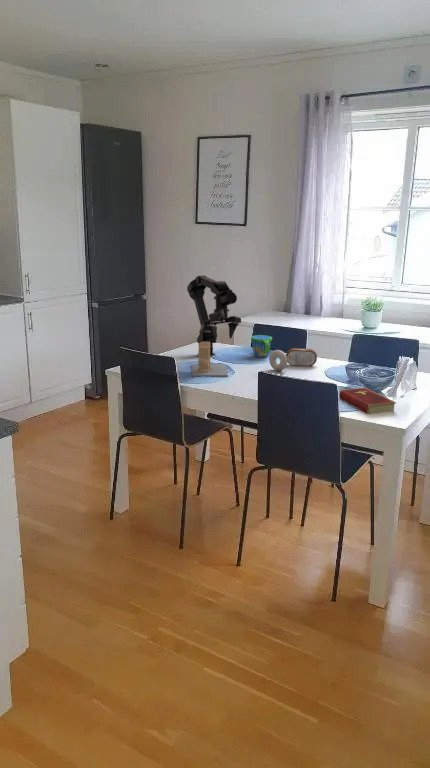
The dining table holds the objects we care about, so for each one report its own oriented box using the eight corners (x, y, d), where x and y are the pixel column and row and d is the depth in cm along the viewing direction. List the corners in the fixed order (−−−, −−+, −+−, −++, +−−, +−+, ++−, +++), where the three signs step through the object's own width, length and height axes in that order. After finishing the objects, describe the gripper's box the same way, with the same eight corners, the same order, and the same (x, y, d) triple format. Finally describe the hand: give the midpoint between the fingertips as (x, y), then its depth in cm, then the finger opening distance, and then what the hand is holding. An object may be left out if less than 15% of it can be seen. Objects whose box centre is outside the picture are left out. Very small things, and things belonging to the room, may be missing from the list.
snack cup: (275, 359, 310) (276, 339, 307) (255, 360, 308) (256, 340, 305) (266, 352, 325) (266, 333, 322) (247, 353, 323) (247, 334, 320)
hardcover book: (367, 415, 228) (368, 404, 227) (338, 399, 248) (339, 389, 246) (395, 412, 232) (396, 401, 231) (364, 396, 251) (365, 386, 250)
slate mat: (192, 365, 296) (192, 364, 296) (225, 365, 296) (225, 364, 296) (192, 376, 277) (192, 375, 276) (227, 376, 277) (227, 375, 277)
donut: (267, 369, 291) (267, 348, 288) (271, 368, 293) (272, 347, 290) (284, 373, 284) (284, 352, 281) (288, 372, 286) (289, 351, 284)
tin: (316, 365, 299) (317, 348, 297) (316, 367, 296) (317, 350, 294) (285, 364, 301) (286, 347, 298) (285, 366, 298) (286, 349, 295)
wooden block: (200, 369, 287) (200, 341, 284) (210, 369, 286) (210, 342, 283) (198, 371, 282) (198, 344, 279) (208, 372, 282) (208, 344, 278)
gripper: (196, 307, 297) (197, 339, 296) (228, 302, 286) (229, 336, 285) (209, 310, 306) (210, 341, 305) (241, 305, 295) (242, 337, 295)
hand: (222, 339), depth 297 cm, fingers open, 9 cm apart
